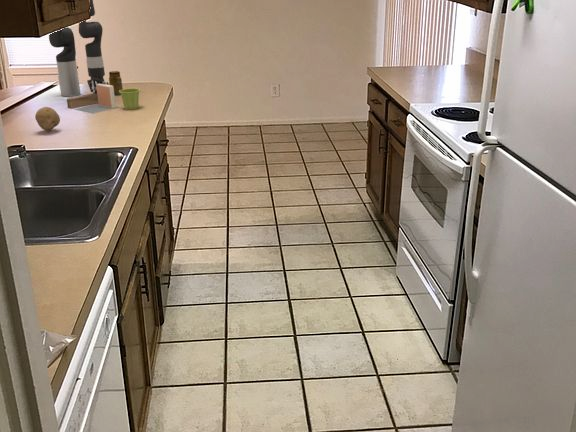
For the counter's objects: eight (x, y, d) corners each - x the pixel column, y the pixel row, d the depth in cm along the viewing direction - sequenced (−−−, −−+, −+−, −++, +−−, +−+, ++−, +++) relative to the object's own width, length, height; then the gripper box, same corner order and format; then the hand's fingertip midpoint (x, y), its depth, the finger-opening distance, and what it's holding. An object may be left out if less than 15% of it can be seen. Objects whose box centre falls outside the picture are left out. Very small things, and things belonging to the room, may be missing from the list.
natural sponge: (54, 127, 255) (50, 103, 252) (66, 130, 250) (62, 106, 246) (34, 131, 249) (29, 107, 245) (45, 135, 244) (41, 110, 240)
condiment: (120, 93, 317) (117, 70, 312) (127, 96, 311) (125, 72, 306) (107, 95, 313) (104, 71, 308) (114, 98, 307) (111, 74, 302)
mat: (74, 110, 283) (74, 109, 282) (101, 104, 294) (101, 103, 293) (93, 114, 275) (92, 113, 274) (120, 108, 286) (119, 107, 285)
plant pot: (116, 110, 282) (114, 91, 279) (130, 106, 290) (128, 87, 287) (132, 112, 278) (130, 93, 275) (146, 107, 286) (144, 89, 283)
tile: (98, 105, 289) (95, 84, 285) (102, 104, 290) (99, 83, 287) (112, 108, 283) (109, 86, 279) (116, 107, 285) (113, 85, 281)
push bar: (68, 109, 286) (66, 98, 284) (109, 100, 304) (108, 90, 302) (72, 110, 284) (71, 99, 282) (114, 101, 302) (113, 90, 300)
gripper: (79, 65, 292) (84, 101, 299) (98, 68, 284) (103, 105, 291) (92, 63, 297) (97, 98, 304) (111, 66, 289) (115, 102, 296)
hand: (100, 101), depth 297 cm, fingers closed on push bar, 3 cm apart
